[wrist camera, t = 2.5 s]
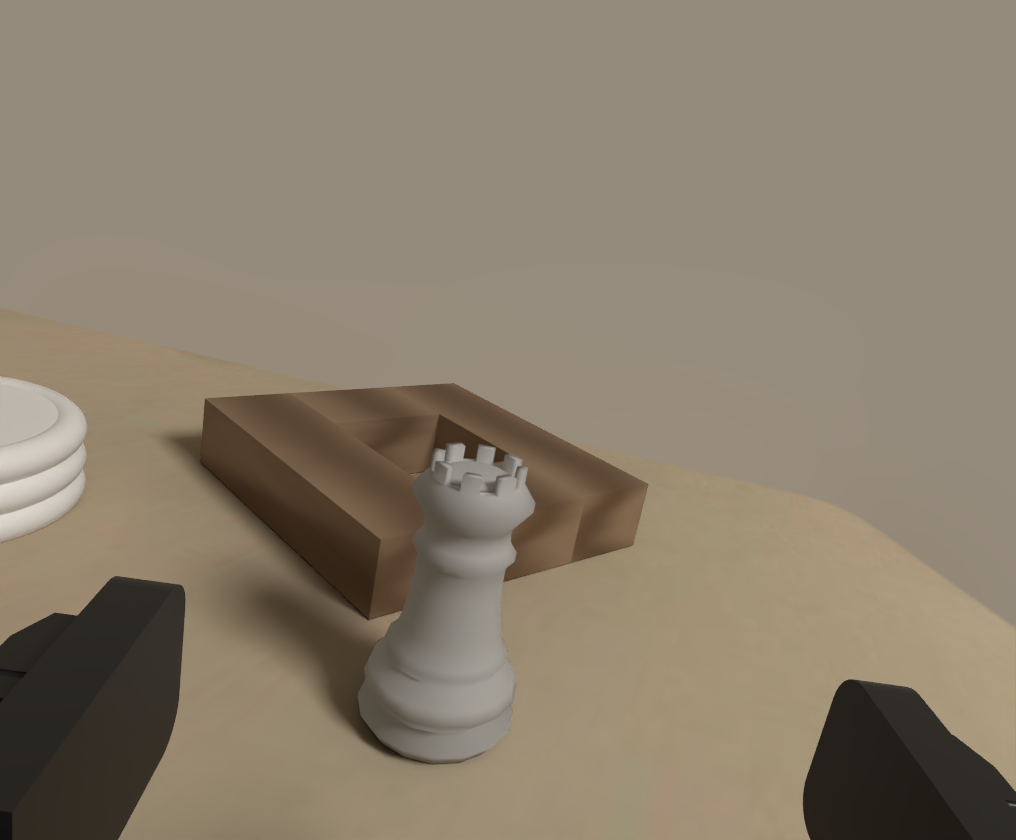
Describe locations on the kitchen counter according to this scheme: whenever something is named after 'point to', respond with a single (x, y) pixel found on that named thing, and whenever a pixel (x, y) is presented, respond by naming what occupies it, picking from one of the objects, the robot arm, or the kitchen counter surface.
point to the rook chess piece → (451, 615)
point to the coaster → (38, 457)
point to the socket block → (402, 480)
